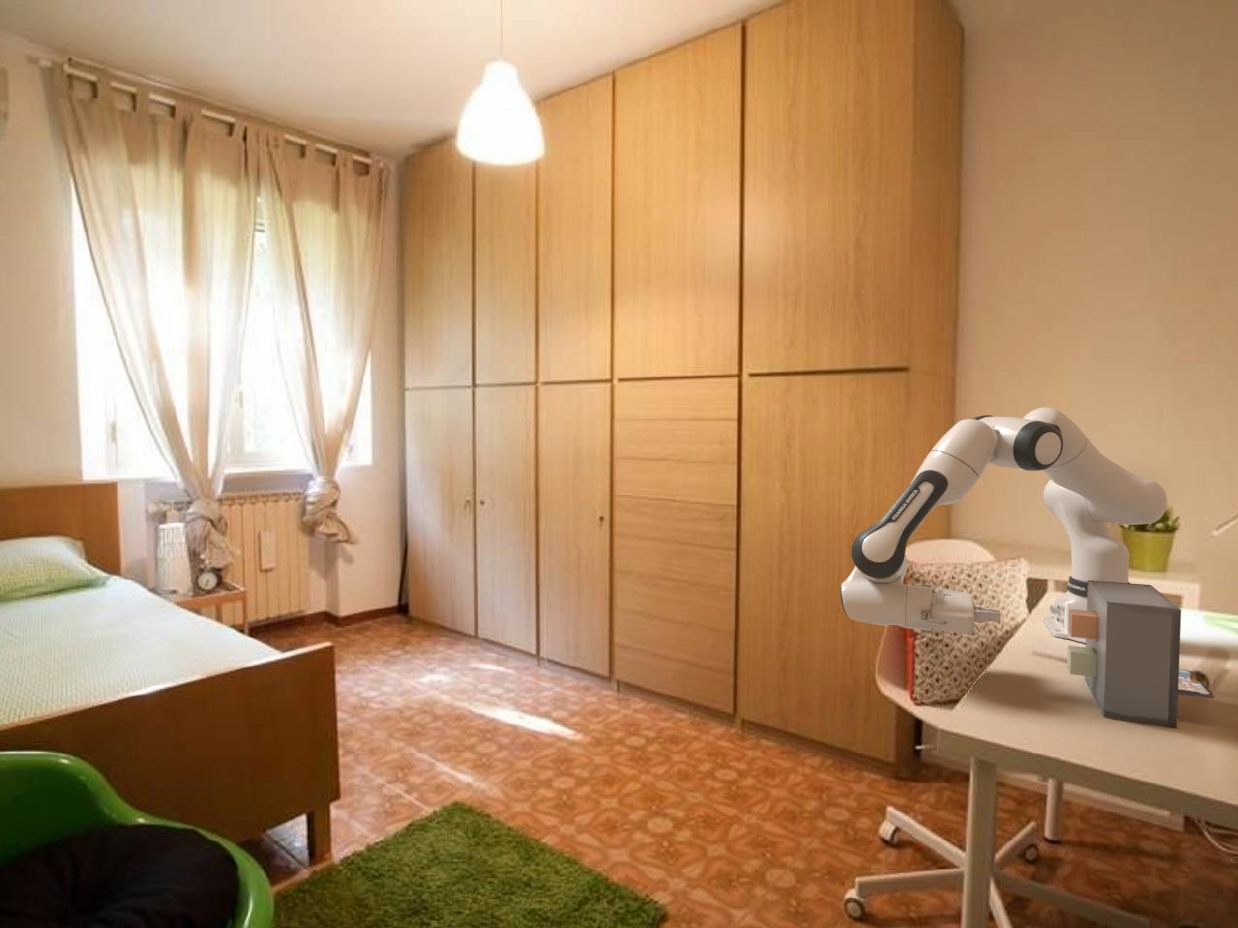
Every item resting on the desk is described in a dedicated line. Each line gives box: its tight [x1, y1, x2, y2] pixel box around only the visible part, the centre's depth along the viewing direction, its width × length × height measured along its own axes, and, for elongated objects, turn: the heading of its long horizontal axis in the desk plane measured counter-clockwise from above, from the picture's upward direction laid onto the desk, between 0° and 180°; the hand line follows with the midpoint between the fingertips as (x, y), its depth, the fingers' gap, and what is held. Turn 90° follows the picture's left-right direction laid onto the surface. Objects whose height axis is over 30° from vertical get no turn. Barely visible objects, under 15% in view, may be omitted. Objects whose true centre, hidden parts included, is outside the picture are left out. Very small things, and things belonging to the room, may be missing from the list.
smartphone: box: [1178, 668, 1213, 698], centre depth 133 cm, size 1×7×15 cm
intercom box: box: [1084, 580, 1182, 729], centre depth 123 cm, size 10×20×20 cm, turn 153°
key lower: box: [1066, 644, 1097, 677], centre depth 126 cm, size 5×4×4 cm
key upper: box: [1068, 609, 1099, 640], centre depth 126 cm, size 5×4×4 cm
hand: (1000, 615), depth 132 cm, fingers closed
